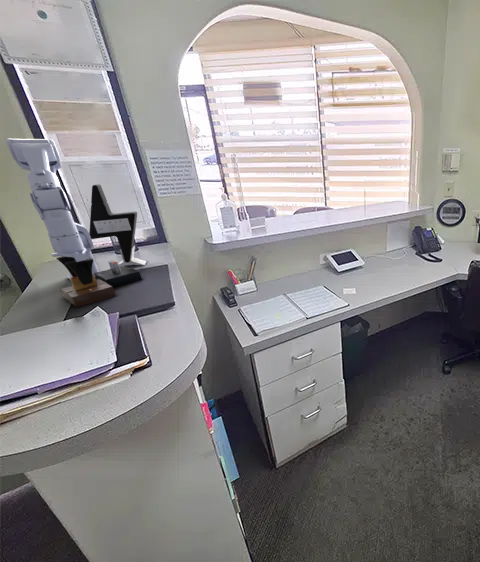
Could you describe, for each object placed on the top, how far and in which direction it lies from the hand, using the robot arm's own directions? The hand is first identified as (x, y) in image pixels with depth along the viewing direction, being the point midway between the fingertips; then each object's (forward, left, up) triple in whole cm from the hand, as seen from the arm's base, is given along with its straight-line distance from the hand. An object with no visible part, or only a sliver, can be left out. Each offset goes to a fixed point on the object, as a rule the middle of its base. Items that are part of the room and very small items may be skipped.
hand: (83, 281), depth 89 cm
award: (-26, +18, -5) cm, 32 cm away
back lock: (-9, +10, -2) cm, 14 cm away
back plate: (-9, +10, -5) cm, 14 cm away
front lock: (0, 0, -2) cm, 2 cm away
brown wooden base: (0, 0, -5) cm, 5 cm away
